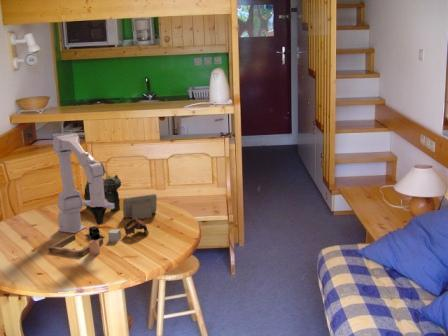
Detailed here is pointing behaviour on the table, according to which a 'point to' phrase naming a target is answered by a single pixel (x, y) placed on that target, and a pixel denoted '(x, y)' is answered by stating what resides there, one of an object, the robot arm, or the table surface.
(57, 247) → the bay
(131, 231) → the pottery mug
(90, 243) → the pinkish-brown rounded block
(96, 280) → the table surface
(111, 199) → the power drill
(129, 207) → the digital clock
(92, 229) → the black boxy piece
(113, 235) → the light gray block
